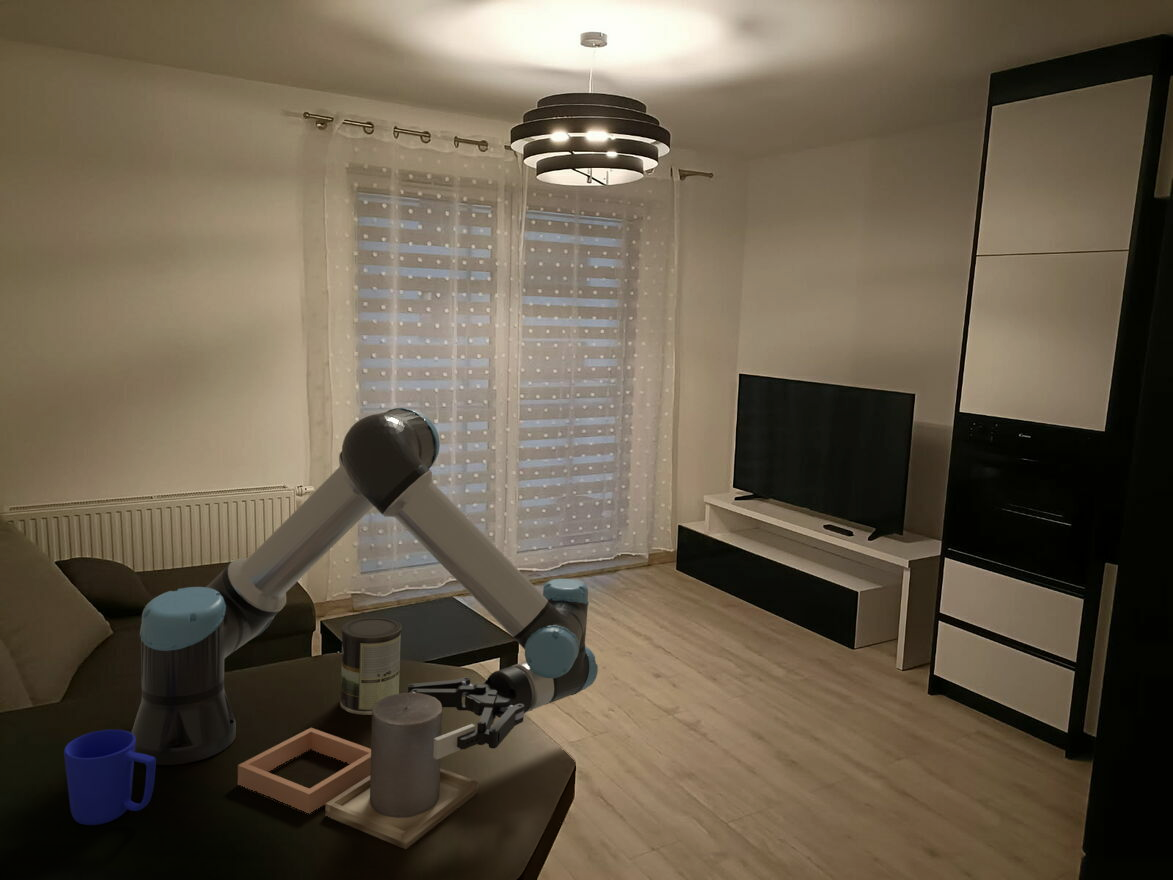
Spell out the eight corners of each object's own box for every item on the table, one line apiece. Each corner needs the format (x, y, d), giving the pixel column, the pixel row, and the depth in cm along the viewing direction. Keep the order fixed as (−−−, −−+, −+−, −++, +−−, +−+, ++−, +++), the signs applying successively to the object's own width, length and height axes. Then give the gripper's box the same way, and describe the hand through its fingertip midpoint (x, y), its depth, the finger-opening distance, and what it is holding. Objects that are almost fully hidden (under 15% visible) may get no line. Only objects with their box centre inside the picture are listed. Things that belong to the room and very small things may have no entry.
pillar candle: (380, 778, 123) (382, 681, 121) (446, 782, 123) (449, 685, 121) (360, 816, 113) (362, 712, 111) (432, 821, 113) (435, 716, 111)
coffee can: (329, 711, 145) (331, 633, 143) (354, 687, 155) (356, 614, 153) (386, 718, 143) (389, 639, 142) (407, 693, 153) (410, 620, 152)
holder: (237, 784, 120) (237, 765, 120) (310, 745, 133) (311, 727, 132) (308, 814, 114) (309, 794, 114) (378, 770, 126) (379, 751, 126)
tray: (325, 815, 114) (325, 803, 114) (401, 765, 128) (402, 754, 128) (405, 849, 108) (406, 836, 107) (477, 793, 122) (477, 781, 122)
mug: (130, 842, 106) (130, 768, 105) (50, 826, 108) (48, 753, 107) (174, 807, 114) (174, 738, 113) (98, 793, 116) (97, 725, 115)
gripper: (574, 740, 124) (461, 792, 108) (467, 686, 140) (355, 724, 125) (576, 692, 123) (463, 737, 107) (468, 643, 139) (357, 676, 124)
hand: (405, 730), depth 116 cm, fingers open, 13 cm apart
